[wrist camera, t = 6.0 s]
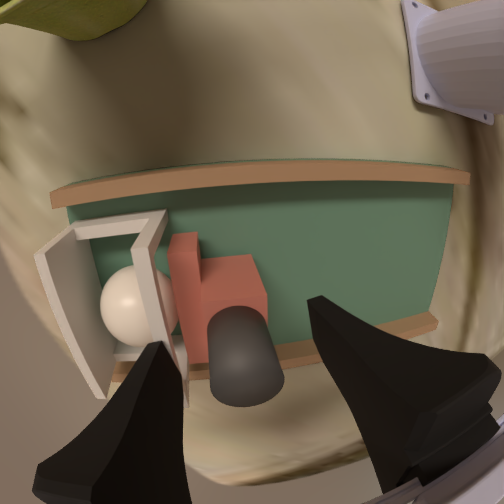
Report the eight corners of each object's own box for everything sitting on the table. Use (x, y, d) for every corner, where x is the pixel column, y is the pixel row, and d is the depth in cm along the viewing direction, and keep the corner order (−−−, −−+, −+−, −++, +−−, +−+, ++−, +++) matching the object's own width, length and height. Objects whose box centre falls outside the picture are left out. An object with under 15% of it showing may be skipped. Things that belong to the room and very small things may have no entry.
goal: (166, 208, 13) (147, 247, 9) (189, 341, 17) (189, 407, 12) (75, 220, 13) (26, 261, 8) (112, 345, 16) (94, 406, 11)
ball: (80, 271, 12) (146, 245, 15) (102, 337, 14) (159, 308, 16) (109, 302, 10) (190, 265, 12) (137, 376, 11) (202, 337, 14)
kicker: (249, 225, 14) (289, 305, 7) (254, 325, 16) (282, 425, 10) (173, 232, 13) (149, 319, 7) (190, 332, 16) (189, 436, 9)
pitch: (445, 166, 16) (470, 172, 14) (418, 312, 21) (435, 329, 18) (70, 183, 13) (49, 192, 11) (119, 356, 18) (112, 382, 15)
